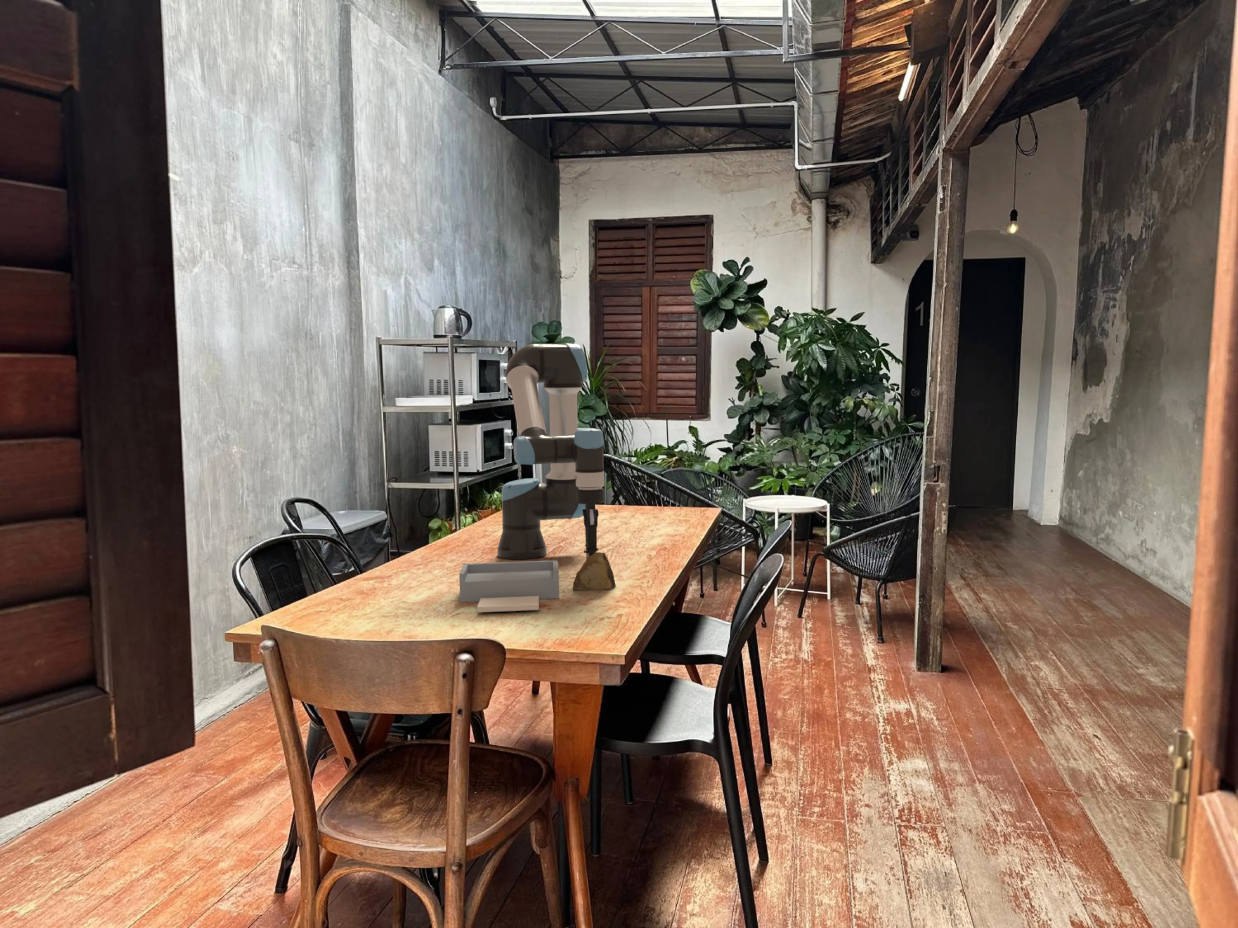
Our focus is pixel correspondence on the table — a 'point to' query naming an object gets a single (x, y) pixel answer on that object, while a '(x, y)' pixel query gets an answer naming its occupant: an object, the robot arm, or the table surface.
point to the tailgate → (508, 604)
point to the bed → (509, 580)
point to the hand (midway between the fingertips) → (591, 576)
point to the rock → (595, 574)
